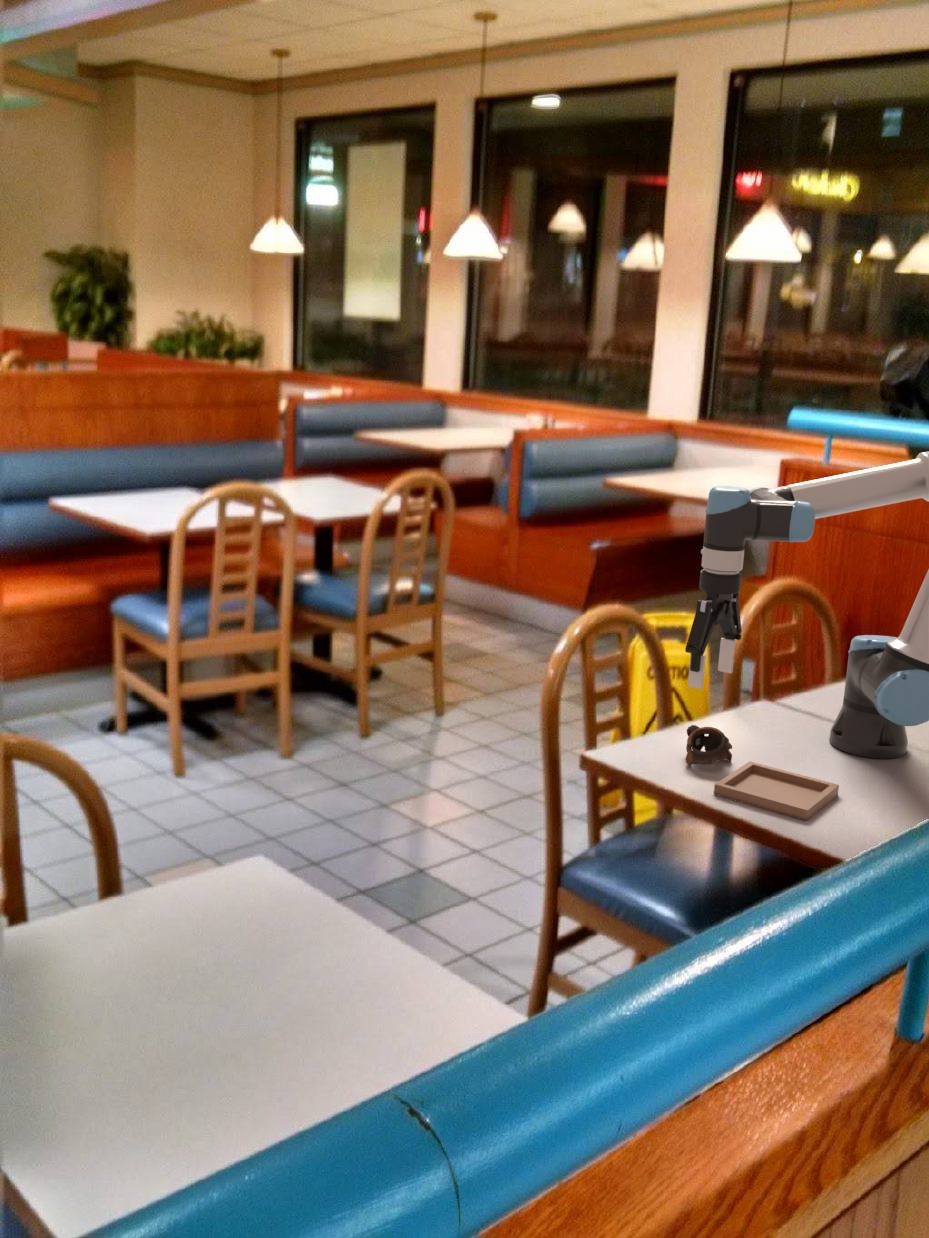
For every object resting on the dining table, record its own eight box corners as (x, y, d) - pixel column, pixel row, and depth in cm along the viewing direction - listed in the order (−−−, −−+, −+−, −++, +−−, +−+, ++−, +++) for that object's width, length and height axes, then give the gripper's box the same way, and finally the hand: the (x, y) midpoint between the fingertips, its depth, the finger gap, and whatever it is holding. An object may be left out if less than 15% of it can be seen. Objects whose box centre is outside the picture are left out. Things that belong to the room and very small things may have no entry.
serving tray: (748, 771, 231) (749, 761, 231) (837, 795, 221) (839, 784, 221) (713, 794, 219) (714, 784, 219) (806, 821, 209) (807, 810, 209)
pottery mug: (745, 768, 234) (740, 740, 229) (705, 793, 232) (700, 765, 227) (706, 734, 243) (701, 706, 238) (668, 758, 241) (662, 730, 235)
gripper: (729, 557, 237) (718, 661, 242) (673, 577, 217) (663, 689, 222) (766, 563, 233) (754, 669, 238) (712, 583, 213) (700, 698, 218)
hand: (710, 679), depth 230 cm, fingers open, 13 cm apart
